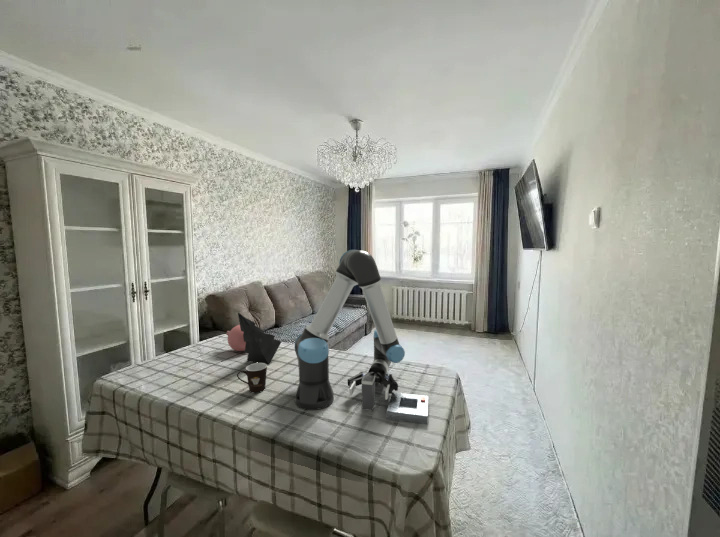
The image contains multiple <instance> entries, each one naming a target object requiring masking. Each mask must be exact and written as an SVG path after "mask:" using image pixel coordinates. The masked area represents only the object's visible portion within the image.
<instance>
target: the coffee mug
mask: <svg viewBox="0 0 720 537" xmlns="http://www.w3.org/2000/svg"><path fill="white" fill-rule="evenodd" d="M267 368H268V364H265V363H255V362H254V363H251V364H248V365H247V366H245V370H240V371H238V372H237V374H236V378H237V380H239V381H241V382H242V383H245V384H246V385H247V386H248V388H249V392H250V391H251V392H259V393H261V392H260V391H262V392H264V391H265V390H266V382H267V373H268V372H267V370H268V369H267ZM241 373H243V374H245V375H246V378H247V381H245V380H243V379H242V378H241V377H239V375H240V374H241ZM264 389H265V390H264ZM263 390H264V391H263ZM251 392H250V393H251Z"/></svg>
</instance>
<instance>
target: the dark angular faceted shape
mask: <svg viewBox="0 0 720 537" xmlns="http://www.w3.org/2000/svg"><path fill="white" fill-rule="evenodd" d="M237 315H238V322H239V325H240V328H241V331H243V332H244V333H243V338H244V342H246V345H245V351H243V353H245V354H247V358H246V361H247V360H248V361H247V362H249V361H253V362H252V363H255V362H258V363H265V364H267V365H268V364H269V365H270V364H271V363H272V360H273V358H274V357H275V355H276V353H277V351H278V349H279V347H280V345H281V344H282V340H281V341H280V340H278V339H275V337H276V336H275V335H273V334H271V333H265V330H263V329H261V328H260V327H259V326H257V323H256V322H254V321H253V320H251V319H249V318H247V317H245V316H243V315H242V314H241V313H240V312H237Z"/></svg>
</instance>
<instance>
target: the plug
mask: <svg viewBox="0 0 720 537" xmlns="http://www.w3.org/2000/svg"><path fill="white" fill-rule="evenodd" d="M375 405H376V383H375V376H369V375H364V377H363V379H362V384H361V410H366V411H374V408H375Z"/></svg>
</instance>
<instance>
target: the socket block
mask: <svg viewBox="0 0 720 537" xmlns="http://www.w3.org/2000/svg"><path fill="white" fill-rule="evenodd" d="M428 419H429V395H421V394H412V393H402V392H396V391H392V394H390V399H389V402H388V406H387V409H386V420H391V421H397V422H405V423H413V424H421V425H428V422H429V421H428Z"/></svg>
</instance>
